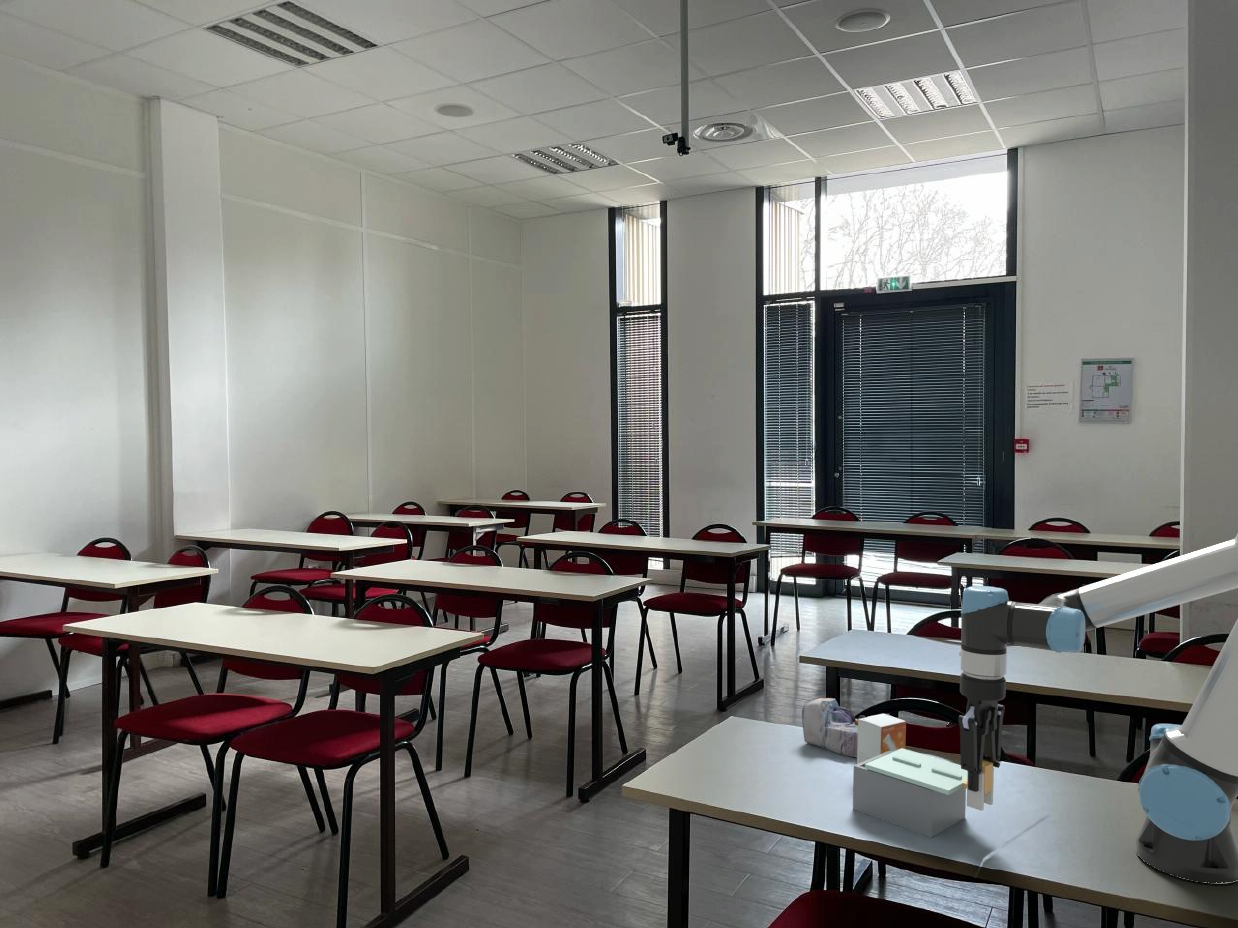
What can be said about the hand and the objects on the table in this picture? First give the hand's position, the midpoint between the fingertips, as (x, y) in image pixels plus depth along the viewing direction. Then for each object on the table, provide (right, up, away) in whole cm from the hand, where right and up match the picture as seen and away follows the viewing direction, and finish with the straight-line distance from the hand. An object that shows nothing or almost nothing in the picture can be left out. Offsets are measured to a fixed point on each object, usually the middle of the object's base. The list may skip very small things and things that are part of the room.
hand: (979, 804), depth 154 cm
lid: (-6, +3, +6) cm, 9 cm away
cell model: (-12, -6, +48) cm, 49 cm away
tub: (-9, -6, +10) cm, 15 cm away
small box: (-9, -6, +28) cm, 30 cm away
